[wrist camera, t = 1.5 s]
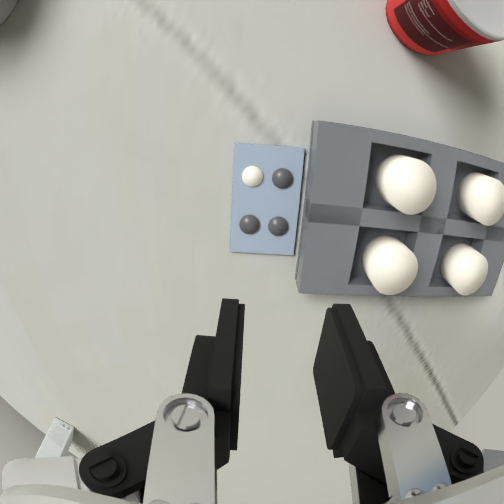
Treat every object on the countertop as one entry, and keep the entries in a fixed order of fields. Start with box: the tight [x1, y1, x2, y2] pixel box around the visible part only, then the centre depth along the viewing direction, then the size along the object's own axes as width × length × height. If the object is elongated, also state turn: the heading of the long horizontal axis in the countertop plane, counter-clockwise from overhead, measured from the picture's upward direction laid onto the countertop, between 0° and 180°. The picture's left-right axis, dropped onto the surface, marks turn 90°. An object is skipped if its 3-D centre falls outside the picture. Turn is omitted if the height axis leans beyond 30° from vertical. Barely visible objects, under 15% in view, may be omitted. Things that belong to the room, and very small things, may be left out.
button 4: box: [440, 242, 488, 295], centre depth 26 cm, size 4×4×3 cm
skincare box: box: [35, 418, 74, 458], centre depth 39 cm, size 6×4×12 cm
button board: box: [230, 121, 504, 296], centre depth 27 cm, size 30×15×3 cm, turn 86°
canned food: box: [386, 0, 504, 55], centre depth 15 cm, size 8×8×11 cm
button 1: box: [375, 154, 437, 215], centre depth 23 cm, size 4×4×3 cm
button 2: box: [361, 235, 418, 295], centre depth 26 cm, size 4×4×3 cm
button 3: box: [457, 172, 504, 226], centre depth 23 cm, size 4×4×3 cm
